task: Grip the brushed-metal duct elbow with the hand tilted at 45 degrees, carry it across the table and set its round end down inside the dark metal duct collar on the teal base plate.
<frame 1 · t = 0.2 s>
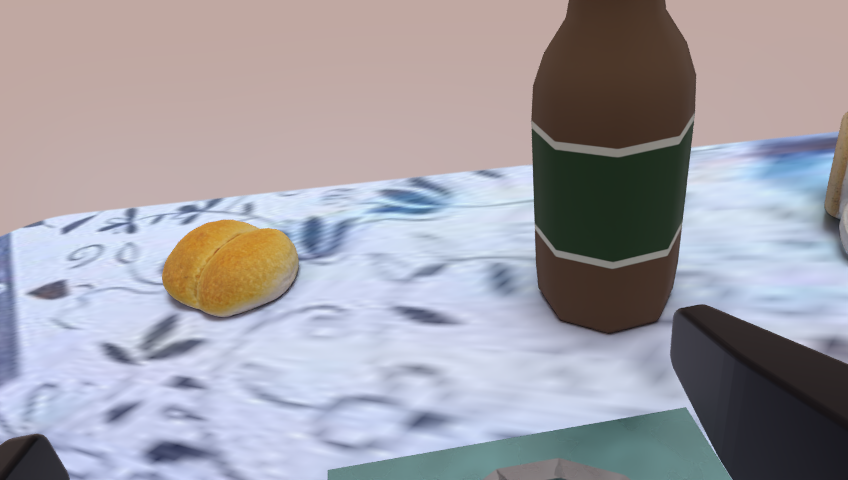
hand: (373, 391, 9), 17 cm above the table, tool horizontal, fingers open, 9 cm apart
beer bottle: (603, 295, 36), on the table
bread roll: (237, 284, 43), on the table
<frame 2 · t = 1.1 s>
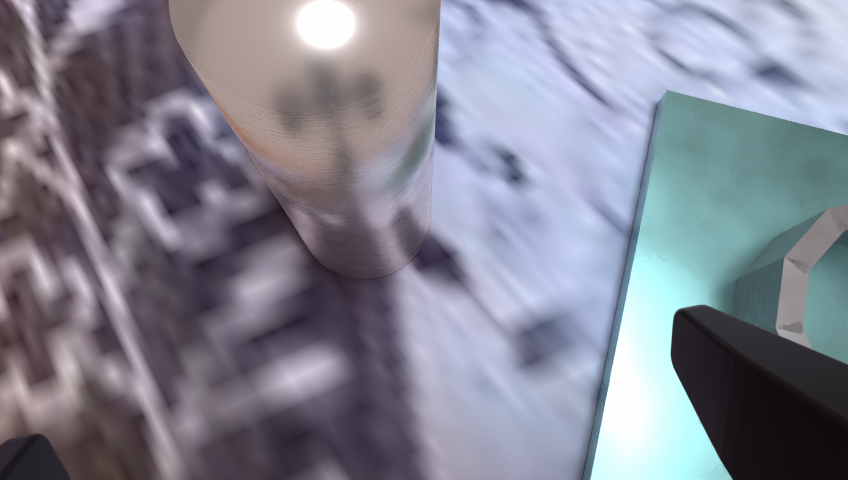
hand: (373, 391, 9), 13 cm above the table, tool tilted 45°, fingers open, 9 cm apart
duct collar: (837, 346, 22), on the table
duct elbow: (365, 216, 24), on the table
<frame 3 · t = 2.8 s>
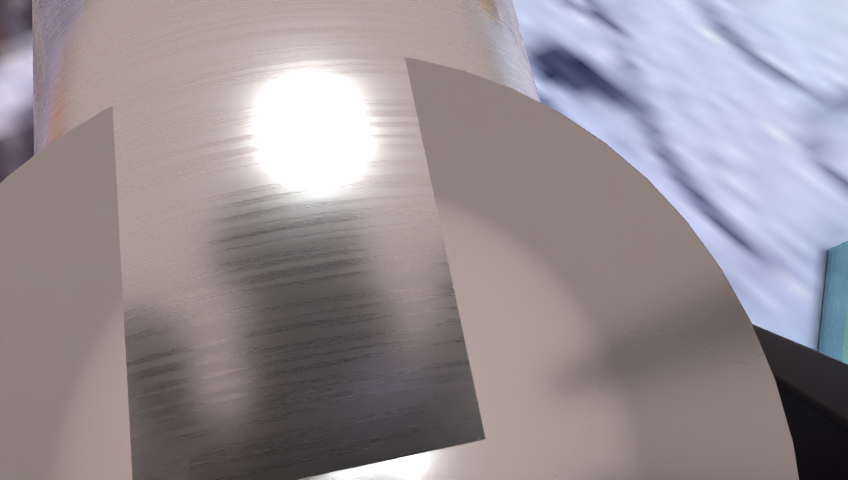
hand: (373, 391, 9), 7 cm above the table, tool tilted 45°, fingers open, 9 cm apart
duct elbow: (399, 436, 16), on the table
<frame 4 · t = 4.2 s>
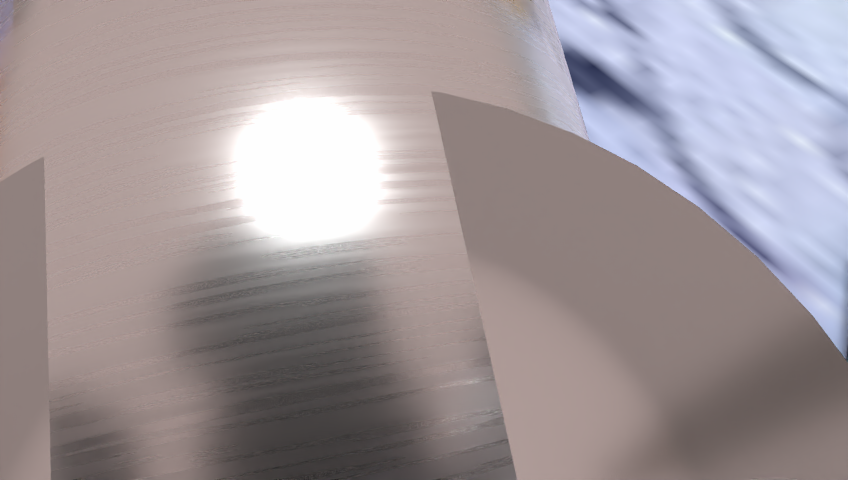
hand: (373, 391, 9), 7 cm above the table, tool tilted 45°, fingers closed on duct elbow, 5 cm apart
duct elbow: (402, 463, 15), on the table, touching gripper
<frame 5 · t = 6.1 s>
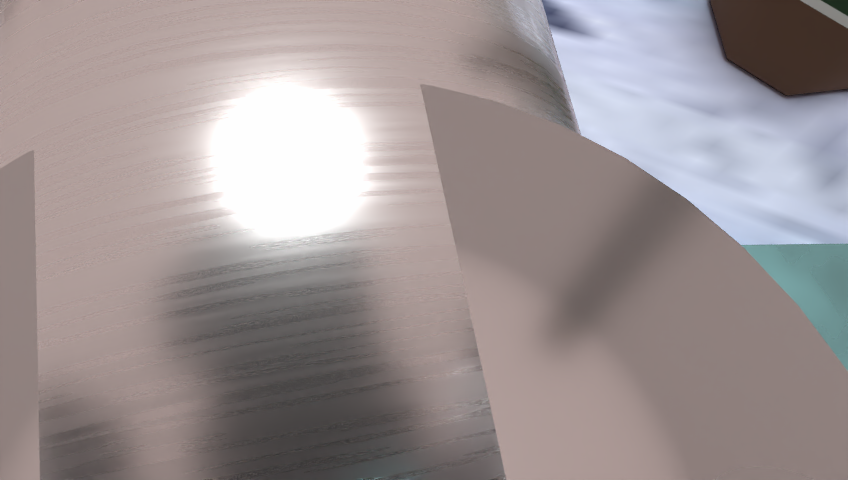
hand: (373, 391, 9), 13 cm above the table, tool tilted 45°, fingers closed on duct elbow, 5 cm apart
beer bottle: (792, 24, 26), on the table
duct elbow: (400, 461, 15), point 7 cm above the table, touching gripper
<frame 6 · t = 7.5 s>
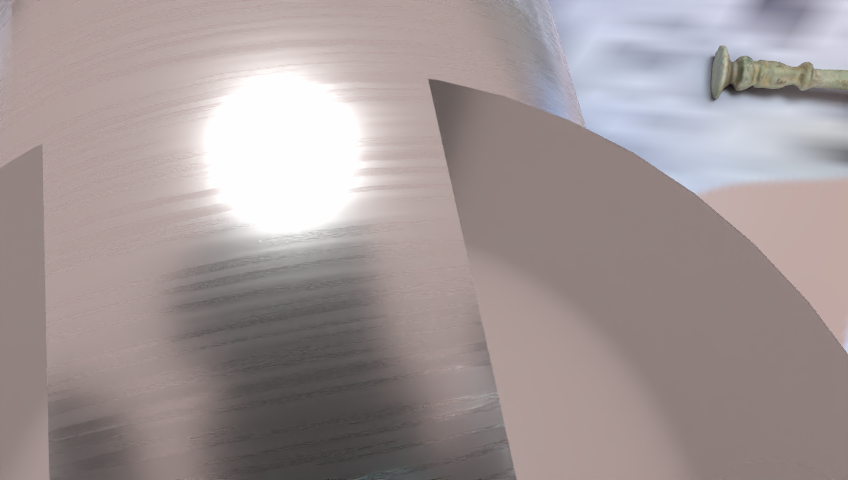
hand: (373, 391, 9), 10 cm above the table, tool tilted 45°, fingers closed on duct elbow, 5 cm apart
duct elbow: (402, 460, 15), point 3 cm above the table, touching gripper
when the fingers open (9 cm above the table, at t = 7.9 s): duct elbow drops 2 cm, resting on duct collar.
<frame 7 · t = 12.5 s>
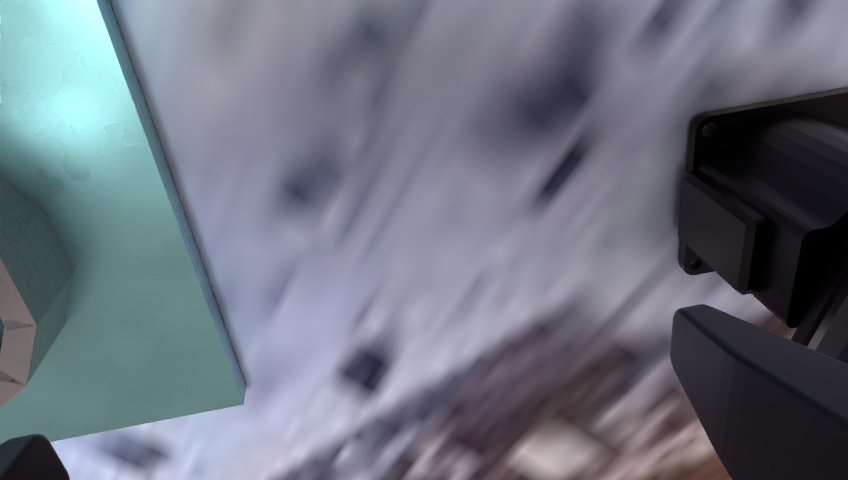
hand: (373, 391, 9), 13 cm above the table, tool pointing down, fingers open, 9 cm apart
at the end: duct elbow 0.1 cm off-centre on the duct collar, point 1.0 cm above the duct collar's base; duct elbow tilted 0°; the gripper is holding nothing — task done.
